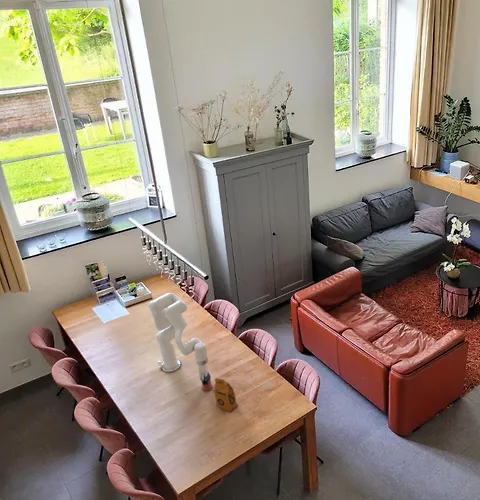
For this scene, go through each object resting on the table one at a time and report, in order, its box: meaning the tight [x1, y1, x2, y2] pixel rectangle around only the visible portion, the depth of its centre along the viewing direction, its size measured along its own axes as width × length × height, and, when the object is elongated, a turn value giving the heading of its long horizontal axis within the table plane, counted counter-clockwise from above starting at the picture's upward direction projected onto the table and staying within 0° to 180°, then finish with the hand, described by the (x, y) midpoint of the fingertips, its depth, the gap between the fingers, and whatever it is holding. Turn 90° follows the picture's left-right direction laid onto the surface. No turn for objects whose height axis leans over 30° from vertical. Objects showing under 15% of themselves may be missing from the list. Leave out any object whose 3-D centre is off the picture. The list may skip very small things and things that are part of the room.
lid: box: [199, 373, 212, 382], centre depth 355 cm, size 7×7×2 cm
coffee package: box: [213, 377, 237, 412], centre depth 339 cm, size 10×12×22 cm
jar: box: [200, 378, 213, 392], centre depth 357 cm, size 6×6×9 cm
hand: (206, 380), depth 356 cm, fingers closed on lid, 6 cm apart
